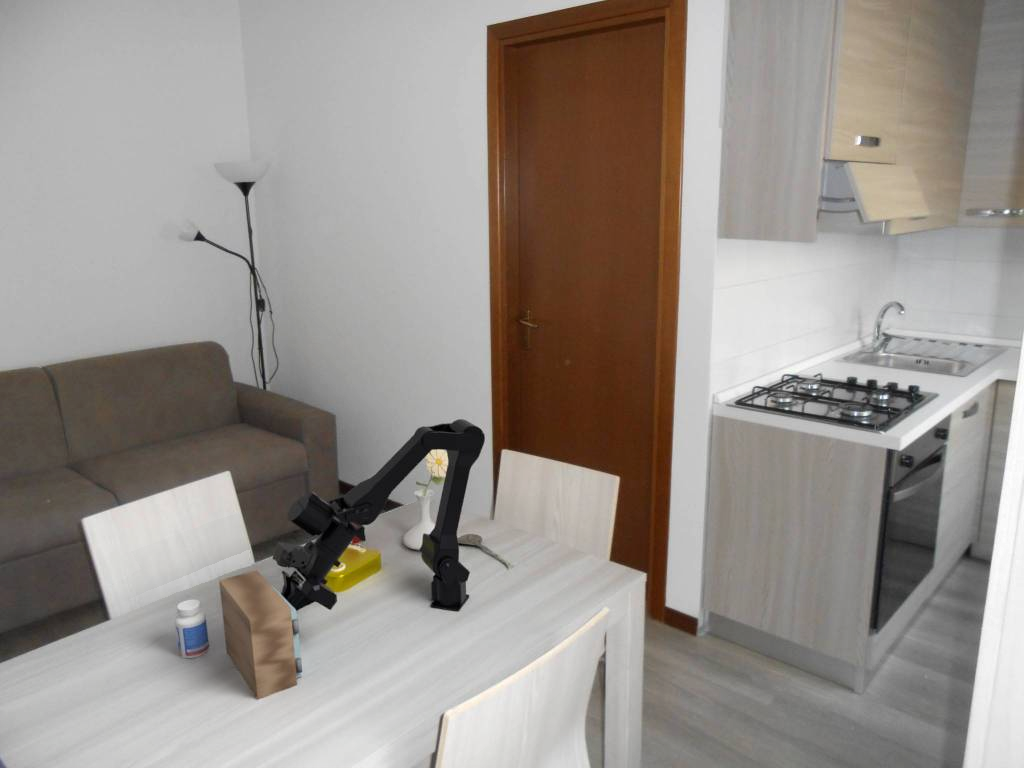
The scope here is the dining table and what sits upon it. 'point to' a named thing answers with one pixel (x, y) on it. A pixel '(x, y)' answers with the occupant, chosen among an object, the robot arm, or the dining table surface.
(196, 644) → the pill bottle
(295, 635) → the door
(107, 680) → the dining table surface
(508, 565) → the soupspoon
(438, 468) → the flower in vase
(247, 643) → the cabinet
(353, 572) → the element tile
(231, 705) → the dining table surface
